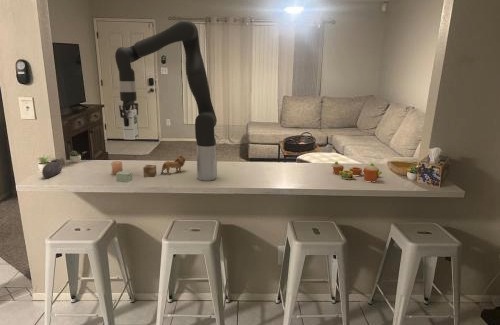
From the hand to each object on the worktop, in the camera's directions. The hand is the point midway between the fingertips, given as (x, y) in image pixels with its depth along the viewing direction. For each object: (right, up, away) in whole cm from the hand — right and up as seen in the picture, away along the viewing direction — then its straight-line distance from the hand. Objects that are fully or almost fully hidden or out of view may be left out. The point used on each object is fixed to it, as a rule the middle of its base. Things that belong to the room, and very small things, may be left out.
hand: (130, 125), depth 176 cm
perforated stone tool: (-40, -25, +2) cm, 47 cm away
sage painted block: (-2, -27, -3) cm, 28 cm away
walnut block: (+8, -25, +6) cm, 27 cm away
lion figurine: (+19, -24, +11) cm, 33 cm away
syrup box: (0, -7, +2) cm, 7 cm away
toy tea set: (+115, -27, +12) cm, 118 cm away
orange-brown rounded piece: (-9, -24, +7) cm, 27 cm away
